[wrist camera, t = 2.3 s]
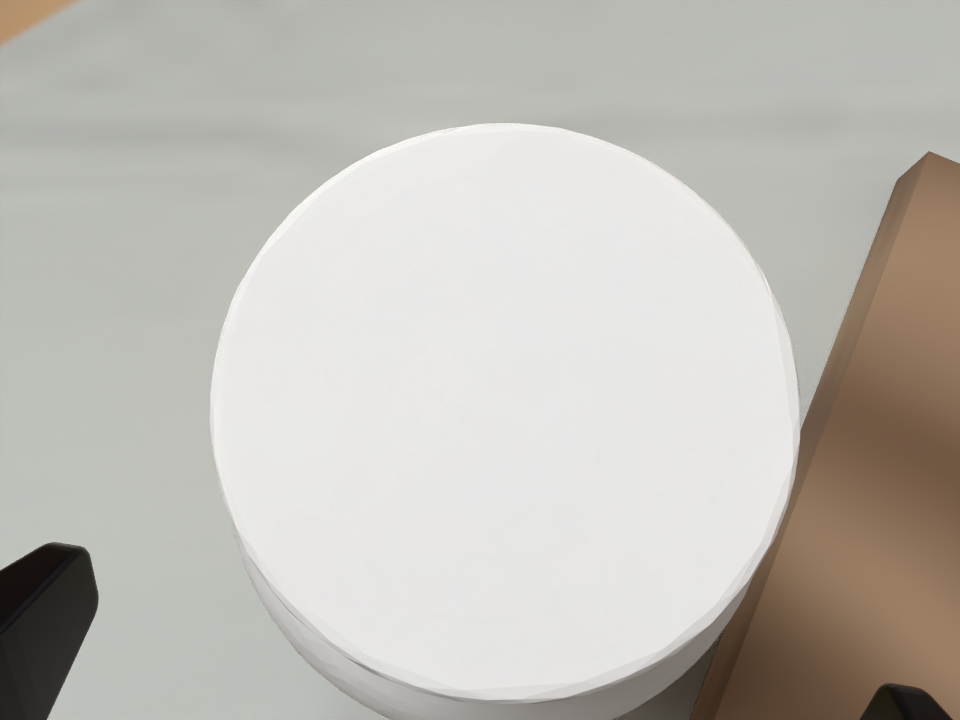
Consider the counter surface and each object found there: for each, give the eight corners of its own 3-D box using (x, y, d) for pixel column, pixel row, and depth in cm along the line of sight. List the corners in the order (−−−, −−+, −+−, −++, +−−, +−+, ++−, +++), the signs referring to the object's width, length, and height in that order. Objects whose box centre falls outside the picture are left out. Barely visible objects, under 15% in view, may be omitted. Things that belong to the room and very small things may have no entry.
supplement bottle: (666, 413, 19) (1019, 146, 6) (587, 689, 17) (848, 1032, 5) (408, 328, 20) (274, -69, 7) (309, 589, 18) (-80, 674, 6)
